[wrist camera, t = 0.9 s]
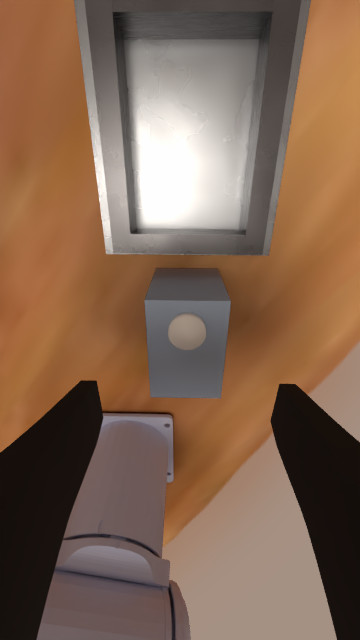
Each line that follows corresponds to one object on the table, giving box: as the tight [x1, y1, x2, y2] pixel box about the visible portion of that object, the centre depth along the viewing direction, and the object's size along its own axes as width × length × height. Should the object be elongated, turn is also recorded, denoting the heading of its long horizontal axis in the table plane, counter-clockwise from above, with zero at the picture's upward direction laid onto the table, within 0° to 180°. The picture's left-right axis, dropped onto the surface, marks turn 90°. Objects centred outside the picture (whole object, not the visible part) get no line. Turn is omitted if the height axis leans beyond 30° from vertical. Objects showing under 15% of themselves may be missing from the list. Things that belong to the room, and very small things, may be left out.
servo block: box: [145, 268, 231, 398], centre depth 15 cm, size 6×4×6 cm, turn 0°
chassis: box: [74, 0, 311, 255], centre depth 12 cm, size 11×10×2 cm
